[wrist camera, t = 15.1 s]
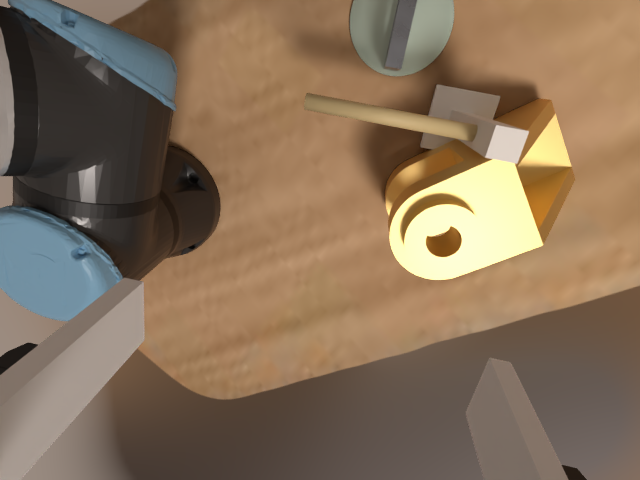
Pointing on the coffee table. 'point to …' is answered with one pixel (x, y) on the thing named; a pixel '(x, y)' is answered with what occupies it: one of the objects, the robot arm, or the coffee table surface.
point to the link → (399, 34)
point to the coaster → (424, 39)
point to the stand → (440, 121)
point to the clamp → (478, 199)
